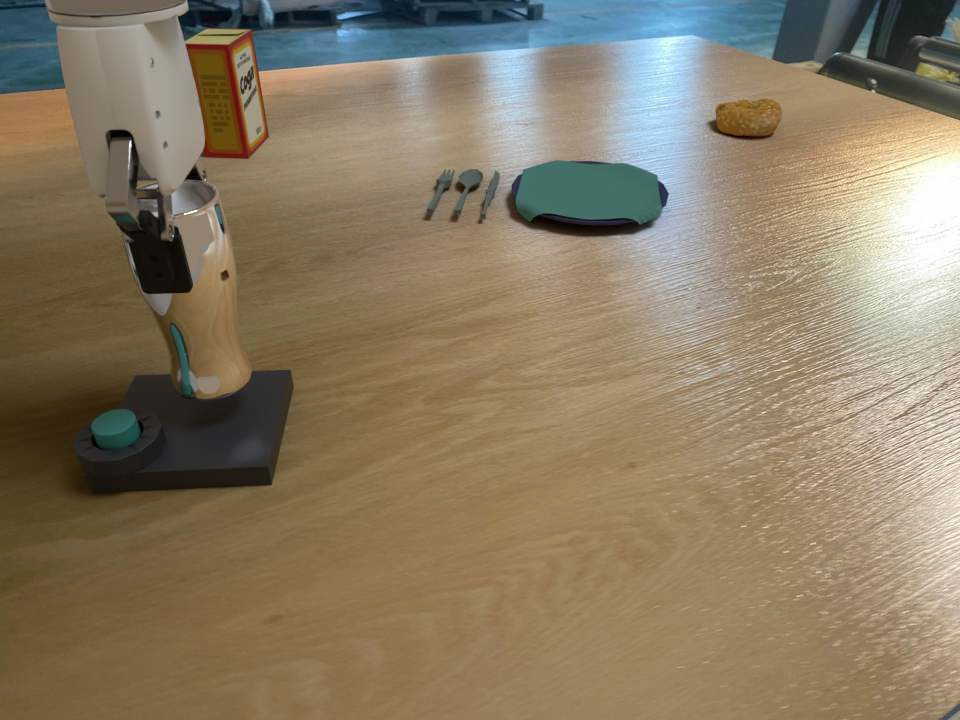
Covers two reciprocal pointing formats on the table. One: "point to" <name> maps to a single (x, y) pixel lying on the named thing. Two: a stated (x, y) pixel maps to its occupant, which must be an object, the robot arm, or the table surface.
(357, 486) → the table surface
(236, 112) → the baking soda box
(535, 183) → the cutlery set
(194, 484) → the black flat square block
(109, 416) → the button
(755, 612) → the table surface
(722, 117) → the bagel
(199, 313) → the beer glass
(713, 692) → the table surface
